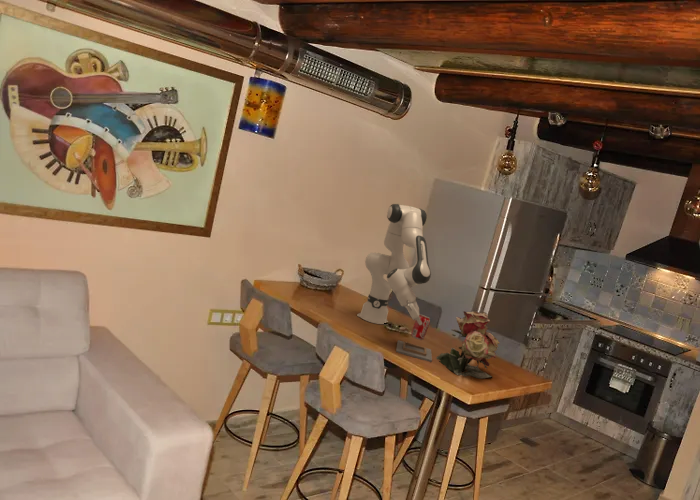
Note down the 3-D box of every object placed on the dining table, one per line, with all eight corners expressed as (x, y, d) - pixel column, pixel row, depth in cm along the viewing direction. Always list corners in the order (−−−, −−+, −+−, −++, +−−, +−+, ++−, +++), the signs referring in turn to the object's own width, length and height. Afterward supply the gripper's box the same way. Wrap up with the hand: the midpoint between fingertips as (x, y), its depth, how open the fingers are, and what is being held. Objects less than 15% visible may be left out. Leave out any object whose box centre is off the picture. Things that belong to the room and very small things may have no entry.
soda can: (424, 340, 316) (432, 318, 316) (421, 341, 309) (430, 318, 309) (411, 335, 318) (419, 313, 318) (408, 335, 312) (416, 313, 312)
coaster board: (397, 341, 327) (398, 337, 327) (430, 351, 325) (431, 347, 325) (396, 352, 307) (397, 348, 307) (431, 362, 306) (432, 358, 305)
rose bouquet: (459, 378, 291) (476, 318, 287) (431, 355, 318) (446, 300, 314) (503, 384, 300) (521, 325, 296) (472, 361, 327) (488, 307, 323)
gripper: (412, 299, 303) (426, 324, 303) (412, 292, 323) (426, 315, 324) (401, 306, 304) (415, 330, 304) (402, 298, 324) (415, 321, 325)
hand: (421, 322), depth 314 cm, fingers closed on soda can, 7 cm apart
